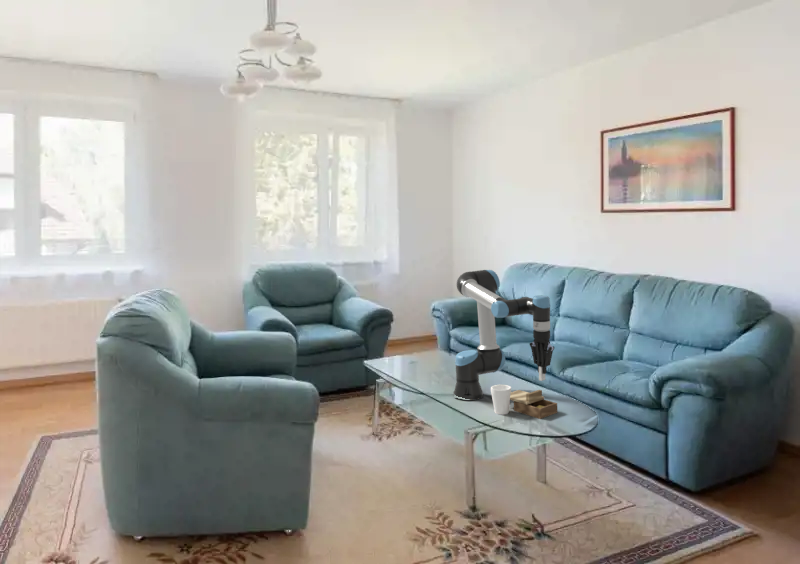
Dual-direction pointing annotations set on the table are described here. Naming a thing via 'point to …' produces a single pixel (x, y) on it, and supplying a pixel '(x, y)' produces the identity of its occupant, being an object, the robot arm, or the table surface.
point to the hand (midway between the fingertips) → (542, 379)
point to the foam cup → (501, 398)
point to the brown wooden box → (533, 410)
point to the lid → (526, 396)
